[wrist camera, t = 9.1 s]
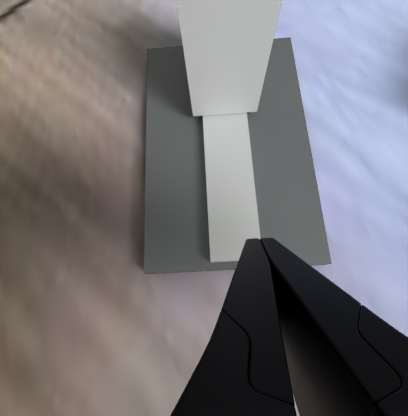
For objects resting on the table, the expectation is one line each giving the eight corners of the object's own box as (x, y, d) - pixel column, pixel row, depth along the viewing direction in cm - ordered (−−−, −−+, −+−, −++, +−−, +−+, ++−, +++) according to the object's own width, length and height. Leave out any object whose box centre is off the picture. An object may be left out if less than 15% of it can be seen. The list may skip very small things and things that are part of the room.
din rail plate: (324, 264, 19) (354, 259, 15) (147, 273, 19) (128, 271, 15) (286, 48, 25) (301, 0, 20) (150, 59, 25) (137, 14, 21)
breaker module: (255, 116, 21) (299, -74, 10) (193, 120, 21) (167, -61, 10) (248, 58, 23) (279, -161, 11) (191, 63, 23) (166, -148, 12)
